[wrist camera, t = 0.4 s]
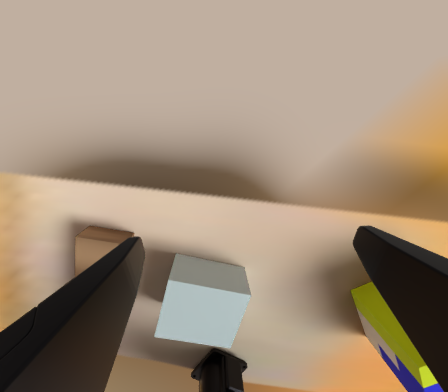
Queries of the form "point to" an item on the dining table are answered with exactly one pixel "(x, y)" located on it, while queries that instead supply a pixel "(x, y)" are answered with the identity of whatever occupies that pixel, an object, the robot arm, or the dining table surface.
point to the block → (203, 302)
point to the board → (96, 245)
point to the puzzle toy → (392, 341)
